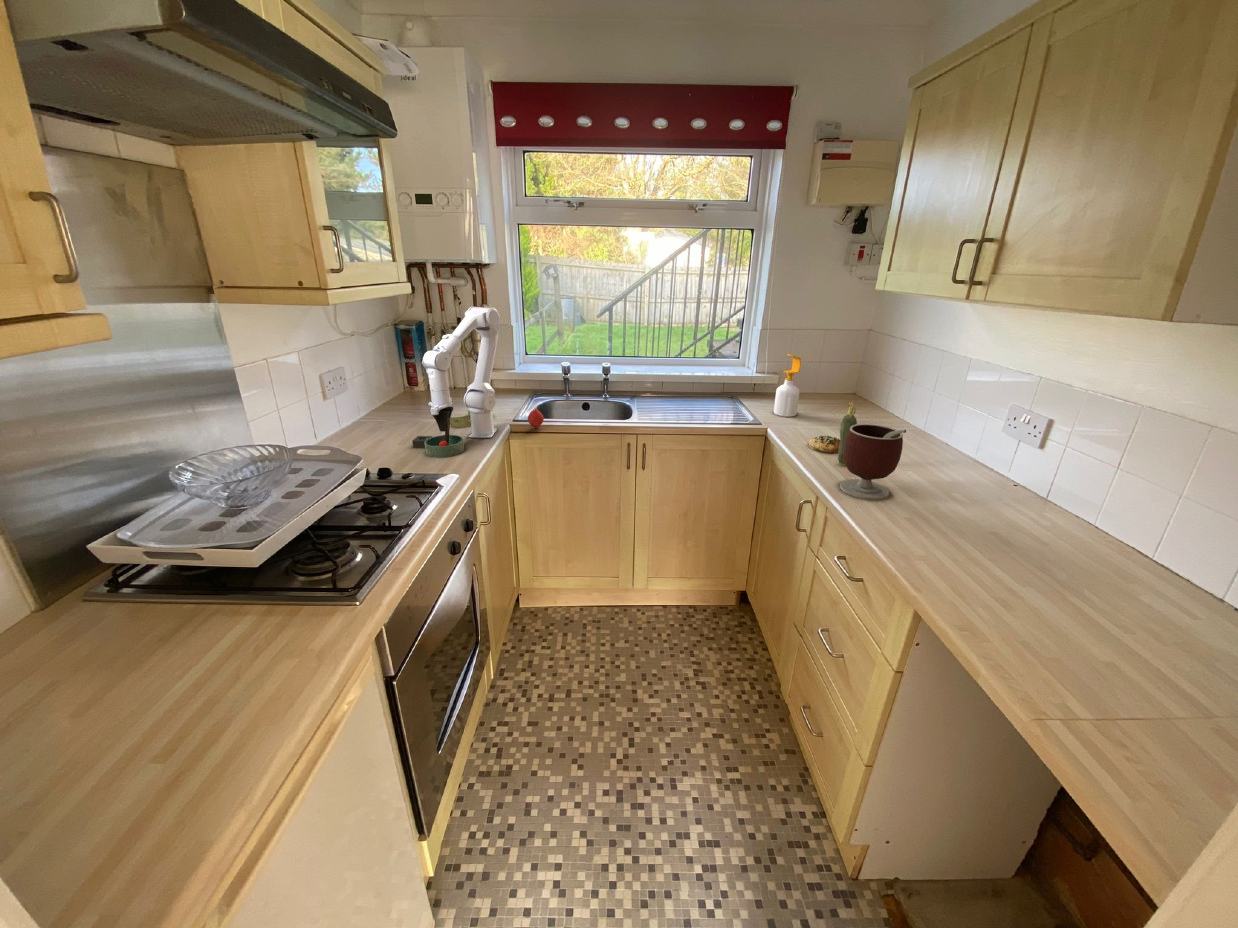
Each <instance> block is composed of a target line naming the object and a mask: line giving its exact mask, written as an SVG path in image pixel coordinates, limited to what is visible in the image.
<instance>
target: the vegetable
mask: <svg viewBox="0 0 1238 928" xmlns="http://www.w3.org/2000/svg"><path fill="white" fill-rule="evenodd" d="M856 410H857V409H856V407H855V405H854V403H853V402H851V401H849V403H848V410H847V414H846V415H844V416H843V417H842V418H841V421H840V425H839V426H840V427H839V439H840V445H839V452H837V453H838V454H837V460H838V464H839V465H840V466H844V465H845V463H844V457H843V453H844V444H845V440H846V437H847V434H848V432H849V430H850V427H851V426H853V425H857V424H858V421H857V418H856V416H855V414H856Z"/></svg>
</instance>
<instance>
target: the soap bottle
mask: <svg viewBox="0 0 1238 928" xmlns="http://www.w3.org/2000/svg"><path fill="white" fill-rule="evenodd" d="M786 356H788V357H790V358H792V365H791V369H789V370H783V373H785V374H786V375H787V377H785V379H784V383H783V384H781V385H779V386H778V387H777V388H776V391H775V396H774V404H773V405H774V407H773V414H774V415H776V416H779V417H786V418H791V417H794V416H796V415H797V413H798V407H799V406H798V405H799V399H800V393H801V392H800V389H799V388H798V387H797V386H796V385H795V384H794V380H795V379H794V377H793V376H794V375H795V374H799V373H800V371H801V364H802V358H801V357H799V356H796V355H794V354H793V355H792V354H788V353H787V354H786Z"/></svg>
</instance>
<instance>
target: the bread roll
mask: <svg viewBox="0 0 1238 928" xmlns="http://www.w3.org/2000/svg"><path fill="white" fill-rule="evenodd" d="M839 445H840V438H837V437H836V436H834V437H833V436H830V435H824V436H823V435H819V436H817V437H812V438H811V439H809V441H808V446H809V447H810V449H811V450H815V451H820V452H823V453H826V454H834V453H839Z"/></svg>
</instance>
